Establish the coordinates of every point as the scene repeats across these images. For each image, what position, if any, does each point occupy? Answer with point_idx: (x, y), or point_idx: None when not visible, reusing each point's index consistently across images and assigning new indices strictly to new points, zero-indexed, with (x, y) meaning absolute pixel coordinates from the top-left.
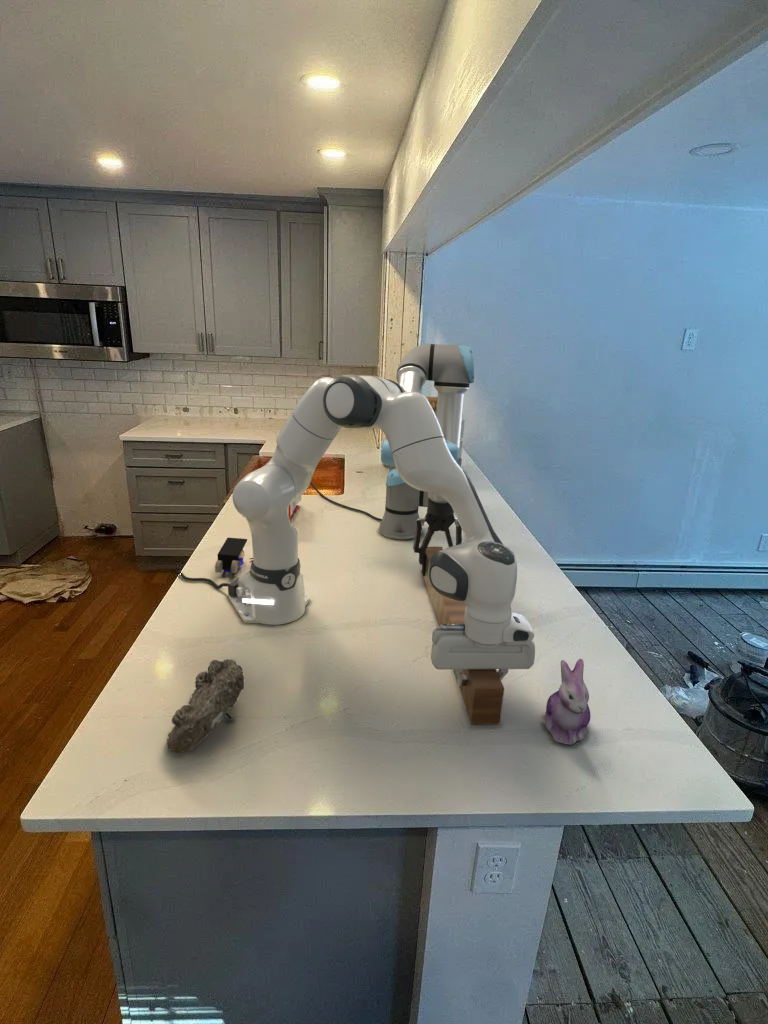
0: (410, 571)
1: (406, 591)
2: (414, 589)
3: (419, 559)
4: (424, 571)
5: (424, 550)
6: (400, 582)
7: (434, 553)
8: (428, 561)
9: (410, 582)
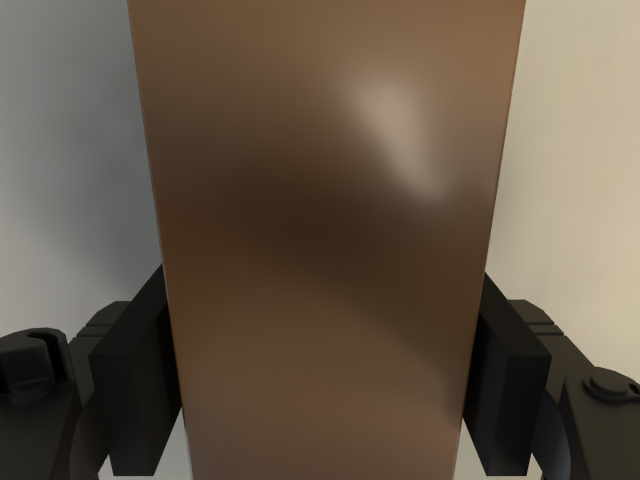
0: None
1: (607, 59)
2: (524, 99)
3: (562, 343)
4: None
5: (601, 430)
6: (603, 225)
7: (338, 460)
8: (482, 238)
9: (521, 225)
